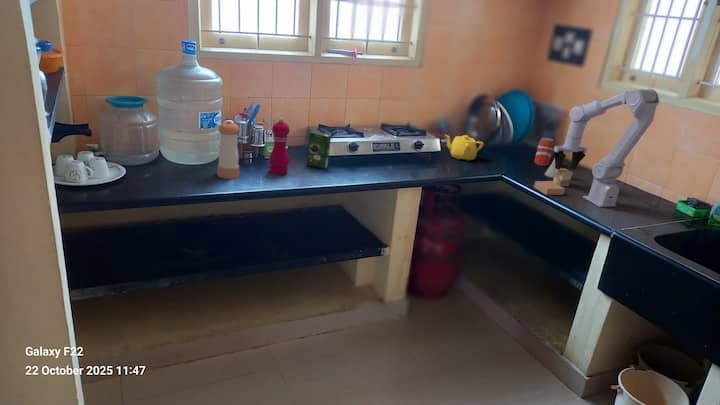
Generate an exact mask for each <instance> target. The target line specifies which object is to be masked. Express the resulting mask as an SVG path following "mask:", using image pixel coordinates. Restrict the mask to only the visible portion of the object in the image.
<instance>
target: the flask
mask: <svg viewBox="0 0 720 405" xmlns="http://www.w3.org/2000/svg"><path fill="white" fill-rule="evenodd" d="M560 169H562V167H561V168H560ZM555 172H556V168H555V157H554V159H553V161H552V163H551V164H549V166H548V168H547V170H546V172H544V175H545V176H546V177H547V178H551V179H554V176H555Z"/></svg>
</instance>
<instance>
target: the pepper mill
mask: <svg viewBox="0 0 720 405" xmlns="http://www.w3.org/2000/svg"><path fill="white" fill-rule="evenodd" d="M271 129H272V130H271V131H272V134H274V135H273V136H272V137H273V138H272V139H273V140H274V142H273V147H272V148H273V149H272V150H271V152H270V154H269V158H268V163H269V164H270V166H269V172H270V173H271V174H273V175H279V176H282V175H286V174H288V165H289V164H290V156H289V154H288V151H287V141H288V138H289V137H288V135H289V134H290V127H289V124H287V123H286V122H285V120H284V118H283V117H280V118H279V119H278V122H275V123H274V124H273V125H272V128H271Z"/></svg>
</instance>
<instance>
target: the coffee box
mask: <svg viewBox="0 0 720 405" xmlns="http://www.w3.org/2000/svg"><path fill="white" fill-rule="evenodd" d="M331 136H332V135H331V134H326V133H322V132H318V131H314V130H312V131H310V132H309V136H308V147H307V158H306V165H307V166H310V167H315V168H318V169H319V168H320V169H322V170H323V169H324V170H326V169H327V168H328V164H329V154H330V145H331V138H332V137H331Z"/></svg>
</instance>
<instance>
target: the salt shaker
mask: <svg viewBox="0 0 720 405" xmlns="http://www.w3.org/2000/svg"><path fill="white" fill-rule="evenodd" d="M217 130H218V132H219V133H220V145H219V151H218V163H217V172H216V173H217V177H219V178H221V179H225V180H226V179H227V180H230V179H236V178H238V177H240V165H239V149H238V134H239V133H240V131H241V129H240V126H239V125H238V124H236V123H234V122H232V121H231V120H228V121H225V122H223V123H220V124H219V126H218V129H217Z"/></svg>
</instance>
